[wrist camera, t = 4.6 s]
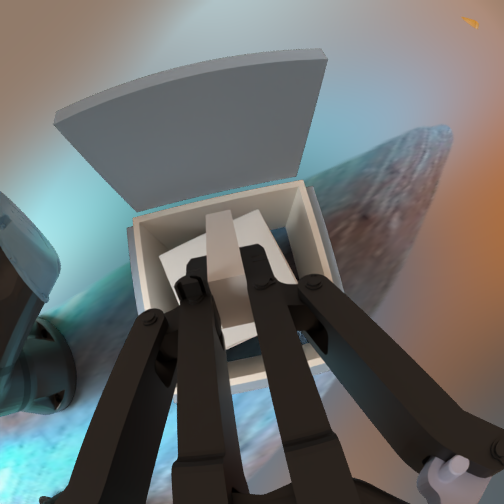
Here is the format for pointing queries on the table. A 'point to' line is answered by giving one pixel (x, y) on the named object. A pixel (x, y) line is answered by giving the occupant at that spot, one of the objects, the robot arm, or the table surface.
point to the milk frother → (49, 499)
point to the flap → (199, 126)
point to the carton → (265, 199)
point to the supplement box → (248, 233)
